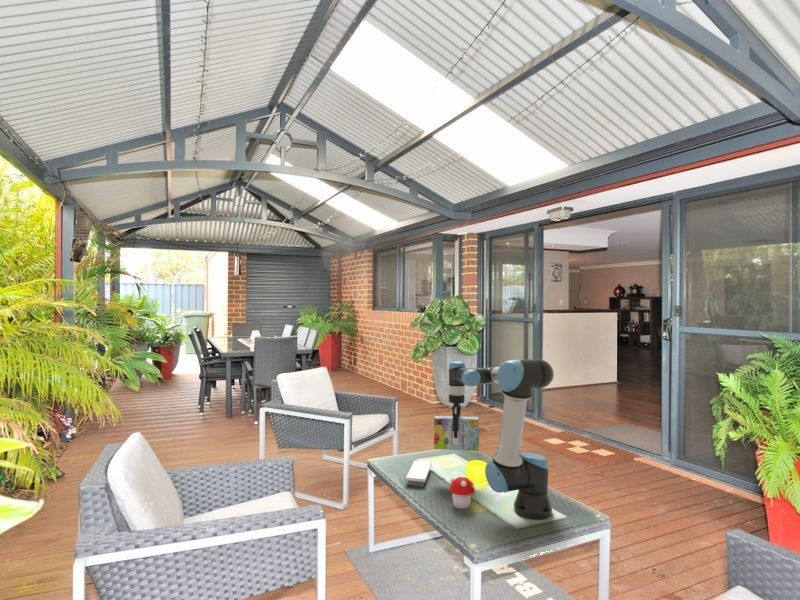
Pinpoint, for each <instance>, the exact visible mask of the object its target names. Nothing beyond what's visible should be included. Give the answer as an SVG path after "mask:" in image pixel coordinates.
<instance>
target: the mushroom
mask: <svg viewBox="0 0 800 600" xmlns="http://www.w3.org/2000/svg"><path fill="white" fill-rule="evenodd" d="M449 483H450V486H449V491H450V492H451V493H452V496H451V497H452V503H453V507H454V508H457V509H460V510H466V509H468V508H469V507H470V505H471V504H470V503H471V495H473V494H474V493H475V492H476V489H475V485H474V483H473V481H472V480H470V479H469V478H468V477H465V476H464V477H463V476H457V477H456V478H454V477H450V479H449Z"/></svg>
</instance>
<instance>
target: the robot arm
mask: <svg viewBox="0 0 800 600" xmlns="http://www.w3.org/2000/svg"><path fill="white" fill-rule="evenodd" d="M554 374H555V373H554V369H553V367H552V365H551V364H550V362H549V363H548V361H546V360H543V359H540V358H533V359H532V358H529V359H528V358H527V359H512V360H506V361H504V362H503V363H501V364H500V366H493V367H492V366H491V367H475V368H474V367H473V368H466V364H465V362H463V361H450V362H449V365H448V386H447V389H448V393H449V394H448V403H450V404H453V405H452V407H451V410H452V416H453V429H452V430H451V431H453V445H459V429H458V425H459V417H461V410H462V406H461V404H464V403H465V401H466V400H465V390H466V389H465V388H466V386H467V387H476V386H478V385H490V384H494V385H495V384H497V385H498V387H499V389H500V390H501V394H502V395H503V396H504V398H503V399H504V400H503V409H502V413H501V414H502V415H501V422H500V425H501V426H500V430H499V437H498V438H499V439H498V447H497V451H496V452H494V453H493V455H492V462H491V461H489V462H488V463H487V464H485V468H484V474H485V477H486V481H487V483H488V486H489V487H490V489H492V490H493V492H494V493H495V492H496V493H498V494H499V493H500V494H501V493H507V492H512V491H513V492H514V491H517V493H516V496H515V500H514V501H513V502H514V503H513V511H514V512H515V513H516V514H517V515H520V516H522V517H523V518H528V519H533V520H544V519H548V518H550V517H552V514H553V507H552V503H551V501H550V498H549V494H548V493H549V492H548V491H549V462H548V461H549V460H548V459H547V458H546V457H545V456H543V455H540V454H539V453H538V454H537V453H533V452H521V447H522V441H523V432H524V425H525V418H526V411H527V404H528V403H527V402H528V401H529V400H530V399H532V397H533V391H534V390H538V389H539V390H540V389H544V388H546V387H548V386H549V385H550V384H551V383H552V382H553V379H554Z"/></svg>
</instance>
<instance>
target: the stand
mask: <svg viewBox="0 0 800 600" xmlns="http://www.w3.org/2000/svg"><path fill="white" fill-rule="evenodd" d="M432 465H433V462H432V461H425V460H413V463H412V464H411V467H410V468H409V470H408V473H407V475H406V477H405V481H408V483H407V485H413V486H412V487H419V486H420V487H421V488H424V486H425V484H426V482H427V478H428V475H429V472H430V470H431V468H432Z"/></svg>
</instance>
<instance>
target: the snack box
mask: <svg viewBox="0 0 800 600" xmlns="http://www.w3.org/2000/svg"><path fill="white" fill-rule="evenodd" d="M433 419H434V421H433V422H434V423H433V425H434V426H433V427H434V428H433V432H434V434H433V437H434V438H433V443H434V444H433V450H449V451H469V452H470V451H475V452H477V451H478V452H479V451H480V420H479V416H460V417H459V425H458V429H459V445H453V431H451V430H452V429H453V415H452V416H451V415H450V416H449V415H445V416H444V415H434V418H433Z"/></svg>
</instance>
